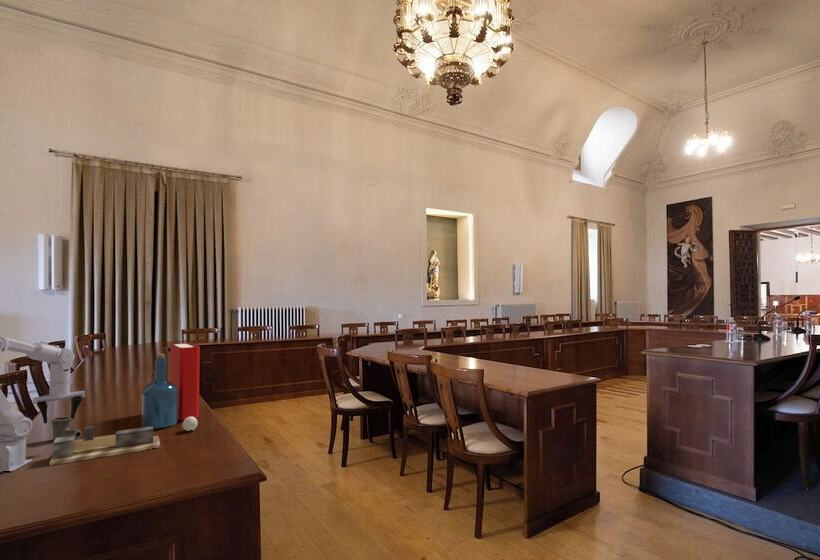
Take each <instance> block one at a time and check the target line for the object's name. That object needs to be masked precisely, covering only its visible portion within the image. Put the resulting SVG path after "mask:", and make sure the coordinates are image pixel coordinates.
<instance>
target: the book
mask: <svg viewBox="0 0 820 560" xmlns="http://www.w3.org/2000/svg"><path fill="white" fill-rule="evenodd" d="M169 346H170V348H169V349H170V351H169V352H170V353H169V354H170V355H169V382H170V383H173V384H174V385H175V386H176V387H177V389H178V419H179V420H185V419H186V418H187V417H195V418H197V417H199V418H200V373H201V372H200V367H201V366H200V364H201V362H200V360H201V358H200V357H201V356H200V354H201V347H200V345H197V344H195V343H193V342H190V341H188V342H187V343H175V344H174V343H171V342H170V345H169ZM179 420H178V421H179Z"/></svg>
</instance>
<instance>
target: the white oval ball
mask: <svg viewBox="0 0 820 560" xmlns="http://www.w3.org/2000/svg"><path fill="white" fill-rule="evenodd" d="M199 423H201V421H199V422H198V419H196V418H195V417H187V418H186V419H185V420H184V421H182V428H183V430H184V431H187V432H191V431H190V430H192V431H194V430H195V429H196V428H197V427H198V424H199Z"/></svg>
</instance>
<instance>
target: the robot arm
mask: <svg viewBox="0 0 820 560" xmlns="http://www.w3.org/2000/svg"><path fill="white" fill-rule="evenodd" d="M47 343H48V342H47V341H37V342H34V343H32V344H31V343H27V342H24V341H22V340H21V341H20V340H18V339H13V338H11V337H7V336H0V353H1V352H6V351H11V352H15V353H22V354H26V355H27V357H28V358H29V359H31V360H35V361H40V362H43V363H47V364H48V365H49V393H48V394H46V395H41V396H35V397H32V404H33V405H35V404H36V406H37V408H38V409H39V411H40V413H41V417H42V420H43V421H42V422H43V423H44V424H48V402H57V401H62V400H69V399H70V402H71V403H70V406H71V407H70V408H71V410H70V417H71V419H72V420H74V419H75V416H76V413H77V410H78V407H79V406H80V404H81V402H82V400H83V398H85V397H86V391H85V390H79V391H71V368H72V365H73V362H74V360H75V358H76V355H75V354H74V352H73V351H72V349H71V348H67V347H66V348H63V347H62V348H61V347H60V346H59V345H50V344H47ZM32 429H33V420H31V419H30V417H26V416H24V414H23V412H21V411H19V410H17V409H15V408H14V407H13V406H12V404H11V402H10V401H9V400H8V398H7V397H6V395H5V394H4V393H3V390H2V389H0V471H10V472H15V471H16V470H18V469H20V468H22V467H24V466H25V465H28V464H29V463H30V462H33V459H27V458H26V453H27V451H26V450H27V449H26V448H27V438H28V435H29V434H30V433H31V431H32ZM10 472H9V473H10Z"/></svg>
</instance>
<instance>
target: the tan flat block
mask: <svg viewBox="0 0 820 560" xmlns="http://www.w3.org/2000/svg"><path fill="white" fill-rule="evenodd" d="M83 432H84V433H83V435H84V436H83V439H82V438H80V439H78V440H73V452H74V451H81V450H87V449H94V448H100V447H107V446H114V445H116V433H115V434H110V435H109V434H108V435H102V436H95V426H94V425H92V426H85V427H84V430H83Z"/></svg>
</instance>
